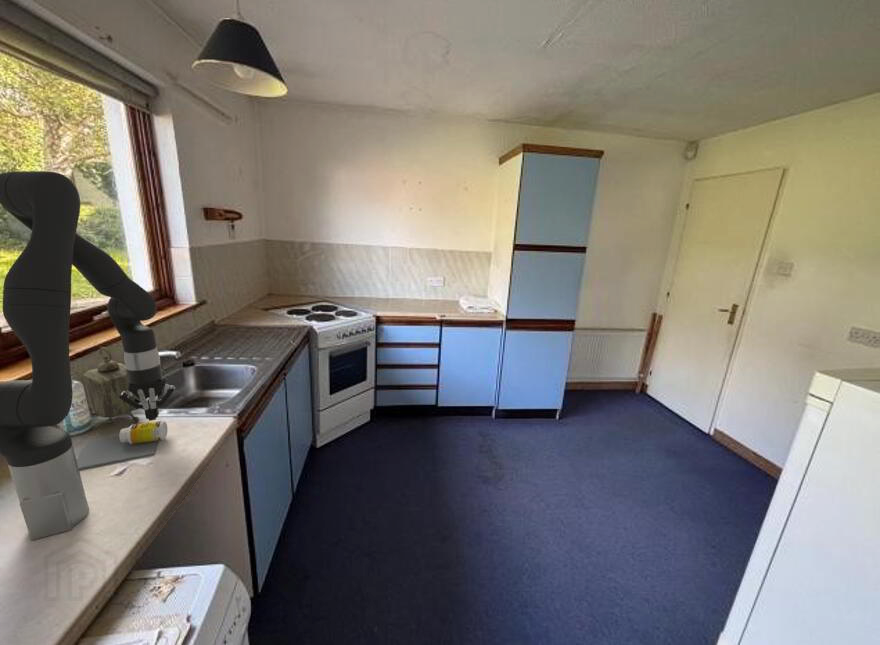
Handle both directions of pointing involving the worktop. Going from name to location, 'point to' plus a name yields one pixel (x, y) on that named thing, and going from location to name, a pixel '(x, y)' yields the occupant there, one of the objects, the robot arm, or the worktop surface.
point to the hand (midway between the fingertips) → (153, 418)
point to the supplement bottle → (144, 432)
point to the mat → (113, 451)
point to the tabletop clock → (108, 389)
